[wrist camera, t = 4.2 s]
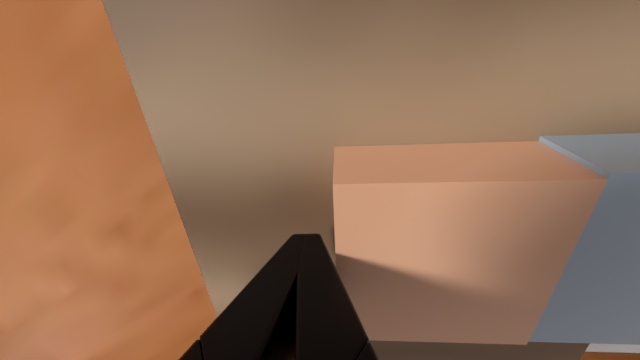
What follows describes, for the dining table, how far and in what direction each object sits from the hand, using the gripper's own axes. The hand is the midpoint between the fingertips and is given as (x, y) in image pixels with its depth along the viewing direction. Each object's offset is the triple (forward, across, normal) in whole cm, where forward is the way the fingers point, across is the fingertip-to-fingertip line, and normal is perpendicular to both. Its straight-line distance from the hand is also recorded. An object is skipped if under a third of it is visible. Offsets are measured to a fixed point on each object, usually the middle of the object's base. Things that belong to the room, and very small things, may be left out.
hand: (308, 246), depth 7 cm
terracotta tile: (+1, -3, 0) cm, 3 cm away
